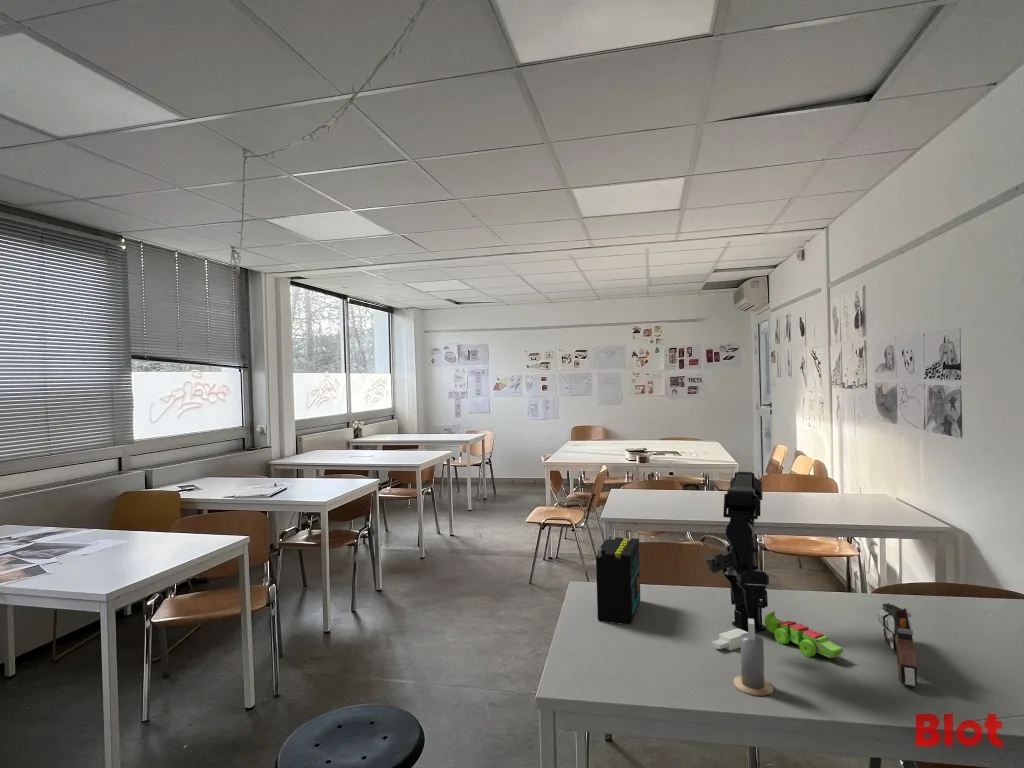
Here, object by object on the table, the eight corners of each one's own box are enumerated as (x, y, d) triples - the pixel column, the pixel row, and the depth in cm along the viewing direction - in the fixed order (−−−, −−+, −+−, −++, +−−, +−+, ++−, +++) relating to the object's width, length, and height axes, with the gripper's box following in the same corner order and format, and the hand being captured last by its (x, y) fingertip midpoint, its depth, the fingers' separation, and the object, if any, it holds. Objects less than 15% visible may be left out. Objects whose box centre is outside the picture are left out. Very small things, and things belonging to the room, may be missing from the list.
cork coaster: (754, 674, 131) (754, 672, 131) (782, 691, 123) (782, 688, 123) (725, 681, 128) (725, 678, 128) (751, 699, 120) (751, 696, 120)
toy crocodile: (848, 661, 136) (847, 635, 136) (828, 667, 133) (827, 641, 133) (779, 630, 154) (778, 607, 154) (760, 635, 151) (760, 612, 151)
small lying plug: (738, 639, 149) (738, 628, 149) (749, 644, 146) (749, 633, 146) (710, 648, 145) (710, 636, 145) (721, 654, 142) (721, 641, 142)
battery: (609, 597, 181) (607, 534, 182) (640, 600, 178) (638, 535, 178) (597, 621, 163) (595, 550, 164) (631, 625, 160) (629, 552, 160)
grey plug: (741, 676, 128) (739, 616, 129) (764, 680, 127) (762, 618, 127) (741, 687, 124) (740, 624, 124) (765, 690, 123) (763, 626, 123)
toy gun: (902, 666, 145) (897, 603, 148) (924, 688, 120) (917, 611, 124) (880, 662, 147) (876, 600, 150) (897, 683, 122) (892, 608, 126)
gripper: (699, 536, 150) (699, 599, 148) (718, 544, 132) (719, 616, 129) (743, 539, 149) (744, 602, 147) (768, 547, 131) (770, 619, 128)
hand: (743, 609), depth 138 cm, fingers open, 9 cm apart
